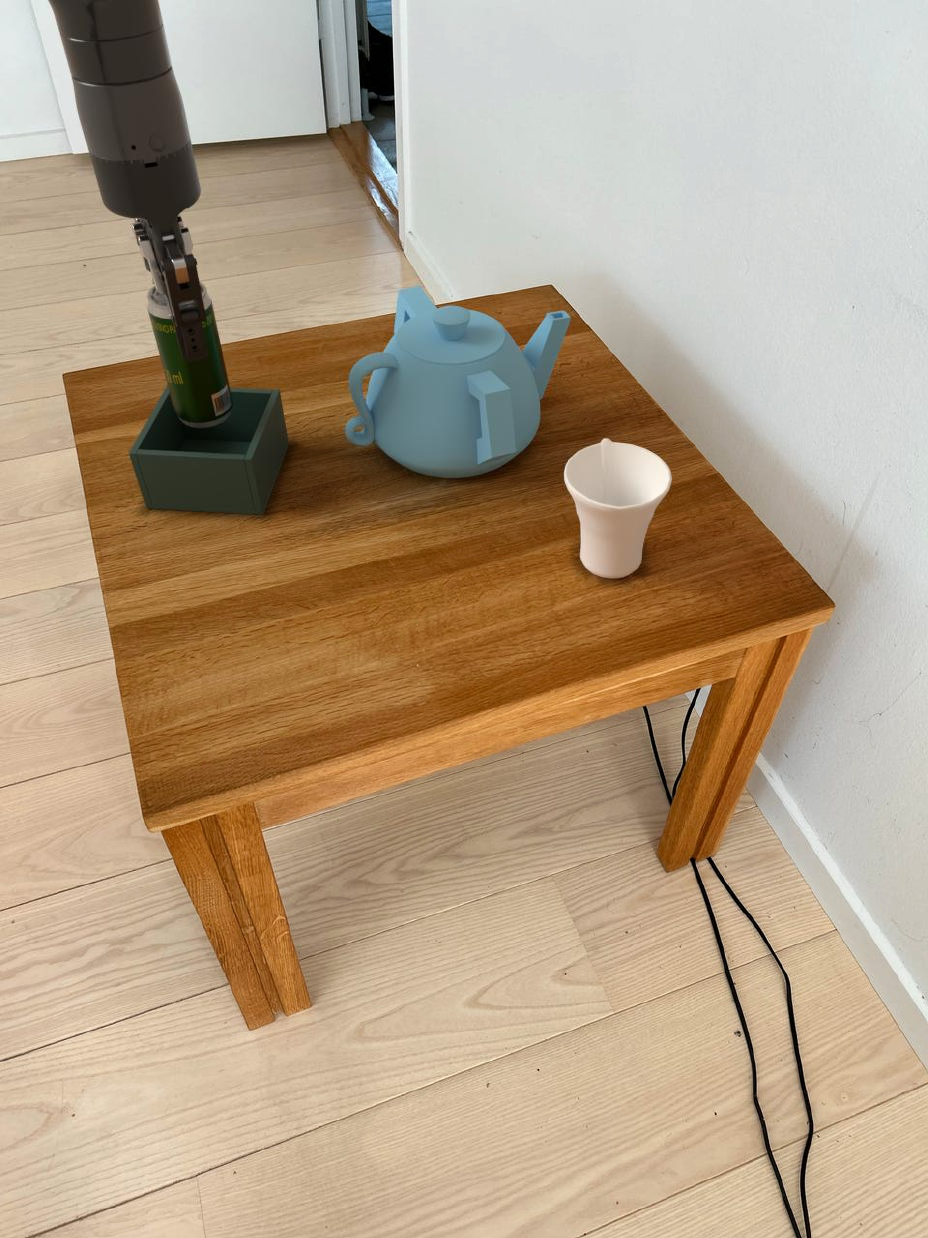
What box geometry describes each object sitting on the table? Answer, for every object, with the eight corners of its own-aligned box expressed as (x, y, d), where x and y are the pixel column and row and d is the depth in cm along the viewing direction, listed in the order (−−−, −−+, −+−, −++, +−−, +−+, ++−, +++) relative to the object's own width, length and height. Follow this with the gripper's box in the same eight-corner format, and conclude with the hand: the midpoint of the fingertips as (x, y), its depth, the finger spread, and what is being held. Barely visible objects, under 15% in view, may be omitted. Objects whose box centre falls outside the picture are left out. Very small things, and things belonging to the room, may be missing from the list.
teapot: (500, 509, 88) (504, 382, 78) (324, 462, 94) (307, 337, 84) (565, 405, 100) (576, 284, 91) (406, 369, 106) (400, 250, 96)
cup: (643, 522, 87) (659, 433, 80) (664, 591, 81) (684, 502, 73) (550, 526, 87) (557, 437, 79) (563, 596, 80) (572, 507, 73)
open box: (146, 508, 89) (128, 453, 84) (181, 438, 97) (167, 384, 92) (263, 515, 88) (251, 459, 83) (289, 444, 96) (280, 389, 91)
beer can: (245, 403, 88) (220, 282, 79) (216, 434, 85) (188, 312, 76) (195, 393, 89) (165, 273, 81) (165, 423, 86) (131, 301, 77)
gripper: (71, 114, 73) (129, 314, 85) (104, 179, 64) (162, 393, 76) (167, 100, 75) (209, 297, 87) (211, 161, 66) (251, 372, 78)
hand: (187, 341), depth 81 cm, fingers closed on beer can, 5 cm apart
